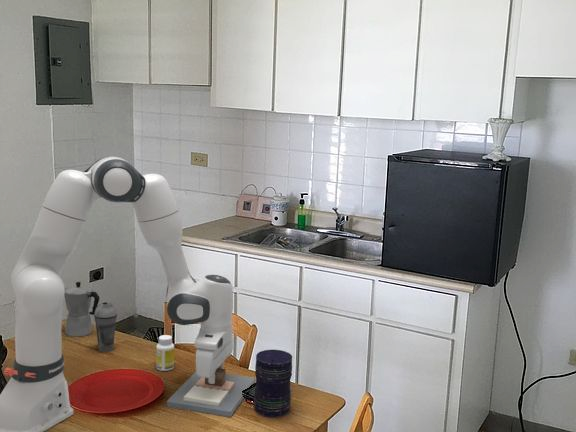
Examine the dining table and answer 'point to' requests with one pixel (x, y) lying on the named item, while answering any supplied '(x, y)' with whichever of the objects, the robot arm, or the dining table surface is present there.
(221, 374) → the brown and pink block
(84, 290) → the coffeepot
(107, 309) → the beverage cup
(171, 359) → the supplement bottle
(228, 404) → the board
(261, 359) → the storage jar
